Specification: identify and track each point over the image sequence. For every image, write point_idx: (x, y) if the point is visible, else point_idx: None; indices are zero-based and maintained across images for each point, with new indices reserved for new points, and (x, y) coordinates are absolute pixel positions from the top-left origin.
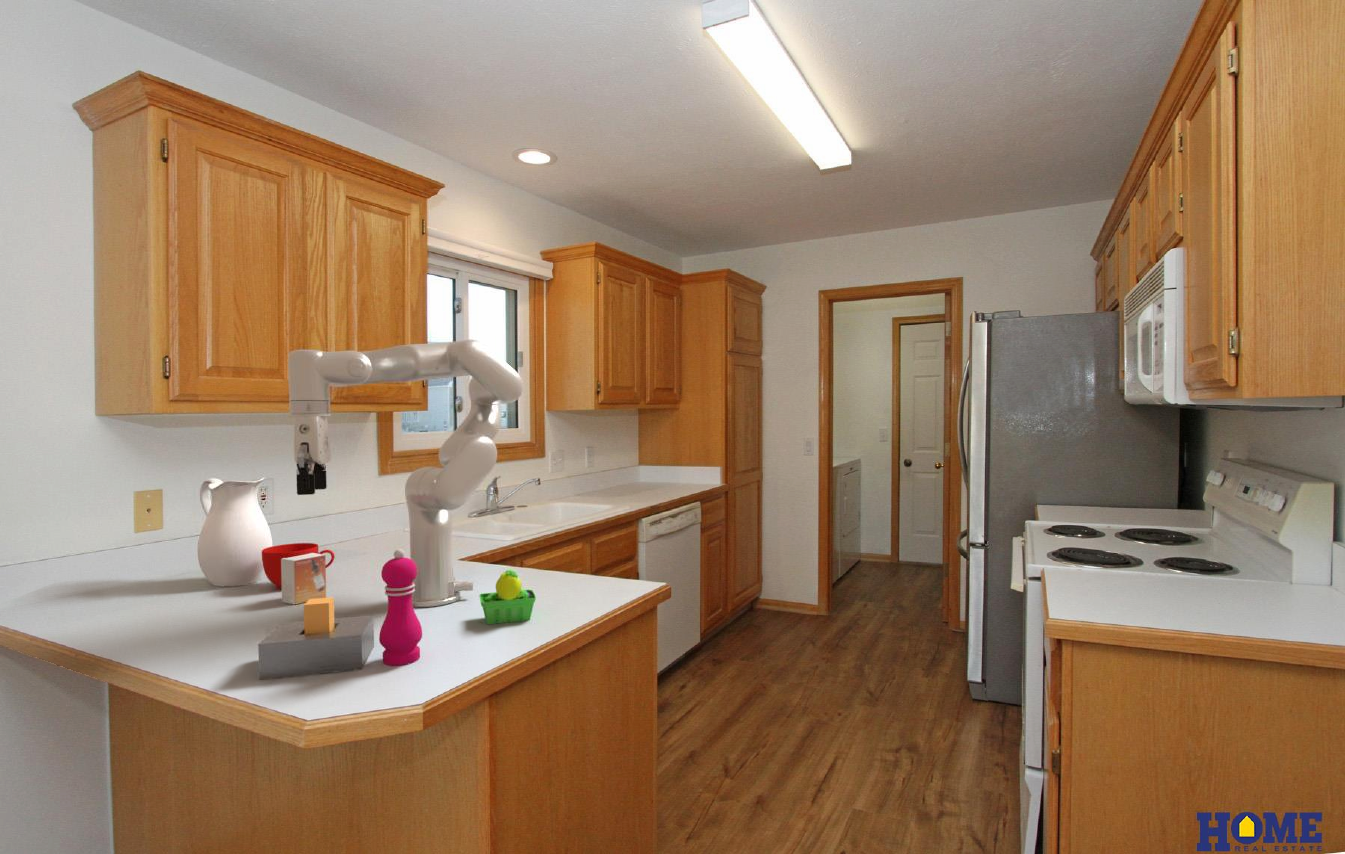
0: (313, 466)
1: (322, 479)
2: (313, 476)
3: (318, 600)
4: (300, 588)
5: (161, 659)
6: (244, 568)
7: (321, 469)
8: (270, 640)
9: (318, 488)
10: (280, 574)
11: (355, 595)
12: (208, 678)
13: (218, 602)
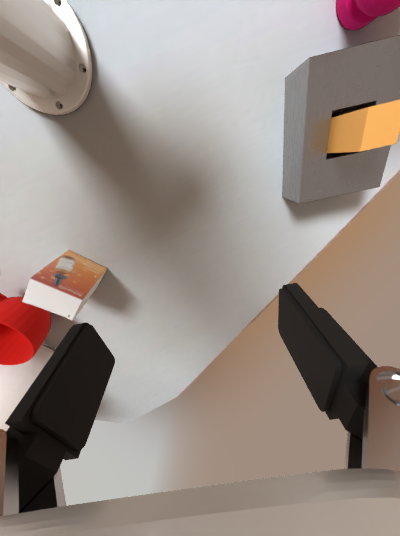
0: (384, 451)
1: (73, 369)
2: (357, 352)
3: (379, 128)
4: (92, 274)
5: (262, 290)
6: (39, 358)
7: (32, 443)
8: (371, 178)
9: (101, 342)
10: (46, 319)
11: (49, 216)
12: (324, 231)
13: (107, 334)
